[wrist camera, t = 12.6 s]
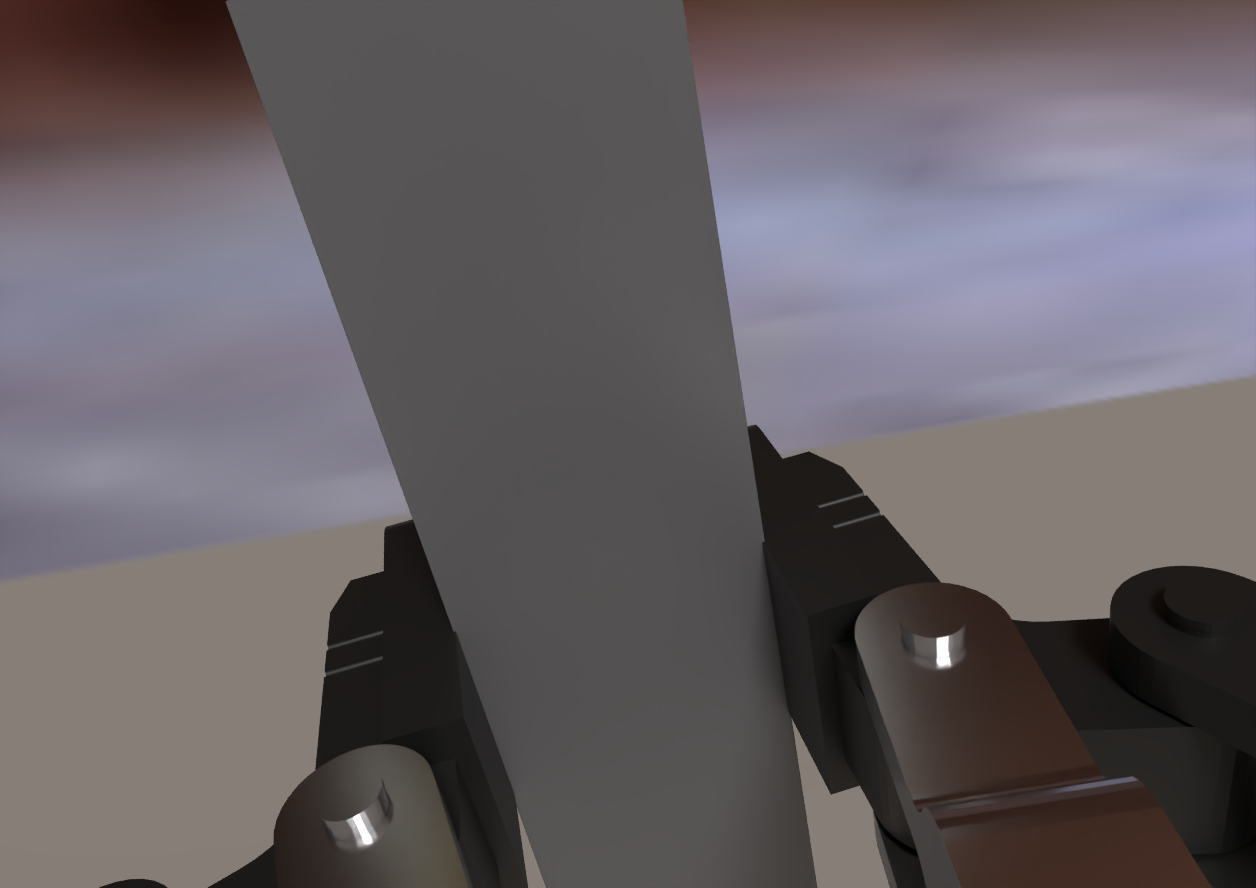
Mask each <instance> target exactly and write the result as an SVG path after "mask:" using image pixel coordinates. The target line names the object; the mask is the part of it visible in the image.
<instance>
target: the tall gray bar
mask: <svg viewBox="0 0 1256 888" xmlns="http://www.w3.org/2000/svg"><path fill="white" fill-rule="evenodd" d="M226 4H227V7H228V10H229V12H230V15H231V18H232V21H233V23H234V26H235V29H236V32H237V34H238V37H239V40H240V43H241V45H242V48H243V51H244V54H245V57H246V59H247V62H248V65H249V68H250V70H251V73H252V76H253V79H254V81H255V84H256V87H257V90H258V92H259V95H260V98H261V101H262V104H263V106H264V109H265V112H266V115H267V117H268V120H269V123H270V126H271V128H272V131H273V134H274V137H275V139H276V142H277V145H278V148H279V151H280V153H281V156H282V159H283V162H284V164H285V167H286V170H287V173H288V175H289V178H290V181H291V184H292V186H293V189H294V192H295V195H296V197H297V200H298V203H299V206H300V209H301V211H302V214H303V217H304V220H305V222H306V225H307V228H308V231H309V233H310V236H311V239H312V242H313V244H314V247H315V250H316V253H317V256H318V258H319V261H320V264H321V267H322V269H323V272H324V275H325V278H326V280H327V283H328V286H329V289H330V291H331V294H332V297H333V300H334V303H335V305H336V308H337V311H338V314H339V316H340V319H341V322H342V325H343V327H344V330H345V333H346V336H347V338H348V341H349V344H350V347H351V350H352V352H353V355H354V358H355V361H356V363H357V366H358V369H359V372H360V374H361V377H362V380H363V383H364V385H365V388H366V391H367V394H368V396H369V399H370V402H371V405H372V408H373V410H374V413H375V416H376V419H377V421H378V424H379V427H380V430H381V432H382V435H383V438H384V441H385V443H386V446H387V449H388V452H389V455H390V457H391V460H392V463H393V466H394V468H395V471H396V474H397V477H398V479H399V482H400V485H401V488H402V490H403V493H404V496H405V499H406V502H407V504H408V507H409V510H410V513H411V515H412V518H413V521H414V524H415V526H416V529H417V532H418V535H419V537H420V540H421V543H422V546H423V548H424V551H425V554H426V557H427V560H428V562H429V565H430V568H431V571H432V573H433V576H434V579H435V582H436V584H437V587H438V590H439V593H440V595H441V598H442V601H443V604H444V607H445V609H446V612H447V615H448V618H449V620H450V623H451V626H452V629H453V631H454V632H455V631H456V633H457V636H458V639H459V641H460V644H461V647H462V650H463V653H464V655H465V658H466V661H467V664H468V666H469V669H470V672H471V675H472V678H473V680H474V683H475V686H476V689H477V691H478V694H479V697H480V700H481V703H482V705H483V708H484V711H485V714H486V716H487V719H488V722H489V725H490V728H491V730H492V733H493V736H494V739H495V741H496V744H497V747H498V750H499V752H500V755H501V758H502V761H503V764H504V766H505V769H506V772H507V775H508V777H509V780H510V783H511V786H512V789H513V791H514V794H515V800H516V806H517V808H518V811H519V814H520V817H521V819H522V822H523V825H524V828H525V830H526V833H527V836H528V839H529V841H530V844H531V847H532V850H533V852H534V855H535V858H536V861H537V864H538V866H539V869H540V872H541V875H542V877H543V880H544V883H545V885H546V888H817V883H816V876H815V870H814V863H813V857H812V851H811V843H810V837H809V830H808V824H807V817H806V811H805V804H804V797H803V792H802V784H801V778H800V771H799V765H798V758H797V751H796V745H795V738H794V732H793V725H792V718H791V715H790V713H789V712H788V706H787V700H786V693H785V687H784V680H783V674H782V667H781V661H780V654H779V648H778V641H777V635H776V628H775V622H774V615H773V608H772V602H771V595H770V589H769V582H768V576H767V569H766V563H765V556H764V550H763V543H762V542H764V541H765V540H764V534H763V527H762V520H761V514H760V507H759V501H758V494H757V487H756V481H755V474H754V468H753V461H752V454H751V448H750V441H749V435H748V428H747V422H746V415H745V408H744V402H743V395H742V389H741V382H740V375H739V369H738V362H737V356H736V349H735V342H734V336H733V329H732V323H731V316H730V309H729V303H728V296H727V290H726V283H725V276H724V270H723V263H722V257H721V250H720V244H719V237H718V230H717V224H716V217H715V211H714V204H713V197H712V191H711V184H710V178H709V171H708V164H707V158H706V151H705V145H704V138H703V131H702V125H701V118H700V112H699V105H698V99H697V92H696V85H695V79H694V72H693V66H692V59H691V52H690V46H689V39H688V33H687V26H686V19H685V13H684V6H683V0H228V1H226Z"/></svg>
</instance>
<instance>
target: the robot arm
mask: <svg viewBox="0 0 1256 888" xmlns="http://www.w3.org/2000/svg"><path fill="white" fill-rule="evenodd" d="M747 428H748V435H749V441H750V448H751V454H752V461H753V468H754V474H755V481H756V487H757V494H758V501H759V507H760V514H761V520H762V527H763V534H764V540H765V541H764V542H762V543H763V550H764V556H765V563H766V569H767V576H768V582H769V589H770V595H771V602H772V608H773V615H774V622H775V628H776V635H777V641H778V648H779V654H780V661H781V667H782V674H783V680H784V687H785V693H786V700H787V706H788V712H789V713H790V715H791V717H792V719H793V721H794V723H795V725H796V727H797V729H798V731H799V733H800V735H801V737H802V739H803V741H804V743H805V745H806V747H807V748H808V751H809V753H810V754H811V756H812V758H813V760H814V762H815V764H816V766H817V768H818V770H819V772H820V774H821V776H822V778H823V779H824V782H825V784H826V786H827V788H828V790H829V791H830V794H834V793H837V792H841V791H844V790H847V789H850V788H853V787H856V786H860V787H861V789H862V790H863V792H864V793H865V796H866V798H867V799H868V801H869V803H870V805H871V807H872V809H873V817H874V827H875V836H876V841H877V846H878V849H879V853H880V856H881V859H882V863H883V866H884V869H885V873H886V876H887V879H888V883H889V885H890V888H1256V582H1255V581H1252V580H1250V579H1247V578H1245V577H1242V576H1239V575H1236V574H1233V573H1230V572H1226V571H1221V570H1217V569H1212V568H1205V567H1197V566H1170V567H1162V568H1156V569H1152V570H1148V571H1145V572H1142V573H1140V574H1138V575H1135V576H1133V577H1131V578H1129V579H1128V580H1126V581H1125V582H1123V583H1122V584H1121V585H1120V587H1119V588H1118V589H1117V590H1116V591H1115V593H1114V595H1113V597H1112V601H1111V605H1110V618H1105V619H1087V620H1069V621H1051V622H1029V621H1018V620H1012V619H1011V618H1010V616H1009V615H1008V614H1007V612H1006V611H1005V609H1003V608H1002V607H1001V606H1000V605H999V604H998V603H997V602H996V601H994V600H992V599H991V598H990V597H988V596H987V595H984V594H982V593H980V592H978V591H976V590H973V589H970V588H967V587H964V586H960V585H955V584H950V583H941V582H940V581H939V579H938V578H937V577H936V576H935V575H934V574H933V573H932V571H931V570H930V569H929V568H928V567H927V565H926V564H925V563H924V562H923V561H922V560H921V558H920V557H919V556H918V555H917V554H916V553H915V551H914V550H913V549H912V548H911V547H910V546H909V544H908V543H907V542H906V541H905V540H904V539H903V537H902V536H901V535H900V534H899V533H898V532H897V530H896V529H895V528H894V527H893V526H892V524H890V522H889V521H888V520H887V519H886V517H885V516H884V515H882V516H881V515H880V511H879V509H878V508H877V507H876V506H875V505H874V503H873V502H872V501H871V500H870V499H869V497H868V496H867V495H866V496H864V494H863V491H862V489H861V488H860V487H859V486H858V485H857V483H856V482H855V481H854V480H853V479H852V478H851V476H850V475H849V474H848V473H847V472H846V471H845V469H844V468H843V467H841V466H839V465H837V464H835V463H833V462H830V461H828V460H826V459H823V458H821V457H819V456H817V455H815V454H813V453H811V452H805V453H802V454H798V455H795V456H791V457H788V458H784V459H782V457H781V456H780V455H779V453H778V452H777V451H776V449H775V448H774V447H773V445H772V444H771V443H770V441H769V440H768V439H767V437H766V436H765V435H764V433H763V432H762V431H761V429H760V428H759V427H758V426H757V425H751V426H748V427H747ZM327 645H328V649H329V650H327V652H326V663H325V673H326V677H324V684H323V694H322V705H321V717H320V726H319V737H318V748H317V758H316V770H315V771H314V772H313V773H311V774H310V775H309V776H308V777H307V778H305V779H304V780H303V781H302V782H301V783H300V784H299V785H298V786H297V788H296V789H295V790H294V791H293V792H292V794H291V795H290V796H289V797H288V799H287V801H286V802H285V804H284V805H283V807H282V809H281V811H280V813H279V816H278V818H277V821H276V825H275V829H274V844H273V845H272V846H271V847H270V848H269V849H268V850H267V851H265V852H264V853H263V854H262V855H260V856H259V857H258V858H256V859H255V860H253V861H252V862H250V863H249V864H247V865H245V866H244V867H242V868H241V869H239V870H237V871H236V872H234V873H232V874H231V875H229V876H227V877H225V878H223V879H222V880H220V881H218V882H217V883H215V884H213V885H211V886H210V887H208V888H528V884H527V877H526V870H525V863H524V857H523V849H522V842H521V835H520V828H519V821H518V814H517V807H516V800H515V794H514V791H513V789H512V786H511V783H510V780H509V777H508V775H507V772H506V769H505V766H504V764H503V761H502V758H501V755H500V752H499V750H498V747H497V744H496V741H495V739H494V736H493V733H492V730H491V728H490V725H489V722H488V719H487V716H486V714H485V711H484V708H483V705H482V703H481V700H480V697H479V694H478V691H477V689H476V686H475V683H474V680H473V678H472V675H471V672H470V669H469V666H468V664H467V661H466V658H465V655H464V653H463V650H462V647H461V644H460V641H459V639H458V636H457V633H456V631H455V632H454V631H453V629H452V626H451V623H450V620H449V618H448V615H447V612H446V609H445V607H444V604H443V601H442V598H441V595H440V593H439V590H438V587H437V584H436V582H435V579H434V576H433V573H432V571H431V568H430V565H429V562H428V560H427V557H426V554H425V551H424V548H423V546H422V543H421V540H420V537H419V535H418V532H417V529H416V526H415V524H414V521H413V519H412V520H409V521H405V522H402V523H398V524H394V525H391V526H387V527H386V528H385V533H384V571H383V572H380V573H376V574H372V575H369V576H365V577H361V578H358V579H354V580H351V581H350V582H349V584H348V586H347V587H346V589H345V590H344V592H343V594H342V595H341V597H340V598H339V600H338V601H337V603H336V604H335V606H334V608H333V609H332V611H331V612H330V620H329V631H328V641H327ZM100 888H167V887H166V886H165V885H163V884H160V883H158V882H156V881H152V880H146V879H130V880H124V881H119V882H114V883H112V884H108V885H105V886H102V887H100Z"/></svg>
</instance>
